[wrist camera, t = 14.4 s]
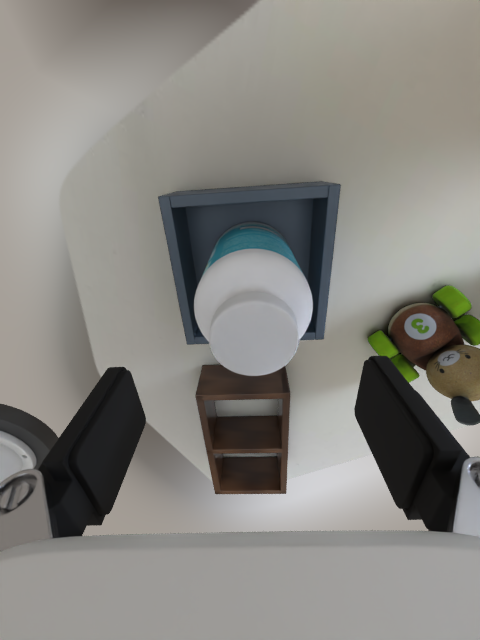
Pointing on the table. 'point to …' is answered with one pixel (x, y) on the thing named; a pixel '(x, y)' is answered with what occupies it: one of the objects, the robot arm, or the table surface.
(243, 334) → the pill bottle
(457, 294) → the toy car
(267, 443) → the rack
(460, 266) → the table surface
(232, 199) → the blue square tray
